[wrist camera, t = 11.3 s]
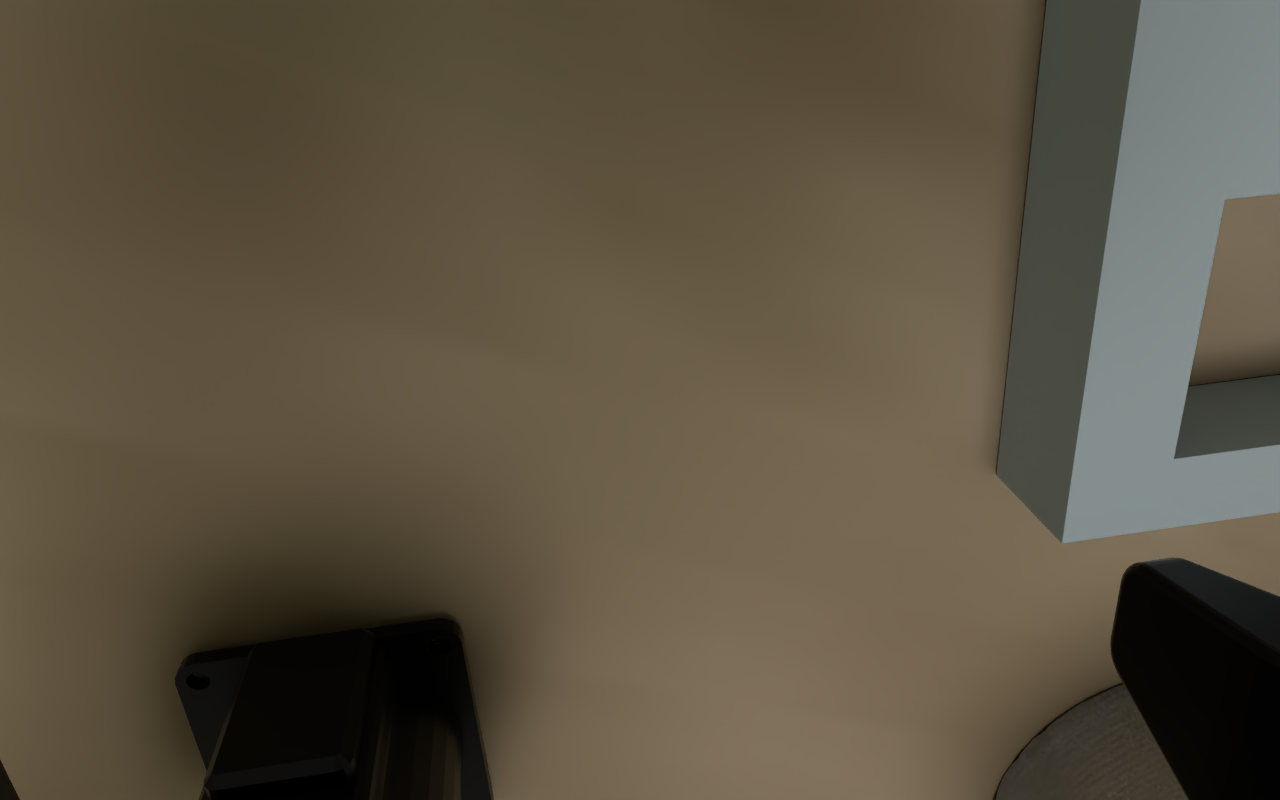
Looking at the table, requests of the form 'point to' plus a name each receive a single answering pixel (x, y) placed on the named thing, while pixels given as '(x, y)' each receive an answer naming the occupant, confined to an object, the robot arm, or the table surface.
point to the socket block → (1139, 268)
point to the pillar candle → (1093, 757)
